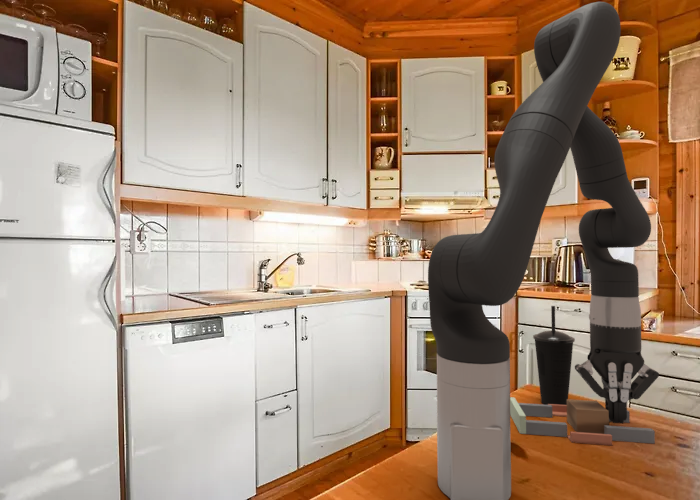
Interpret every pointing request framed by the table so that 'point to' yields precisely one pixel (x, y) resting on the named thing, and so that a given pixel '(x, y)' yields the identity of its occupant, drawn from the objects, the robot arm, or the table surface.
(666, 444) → the table surface
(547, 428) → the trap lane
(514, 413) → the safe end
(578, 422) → the walnut block
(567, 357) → the drinking cup
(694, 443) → the table surface
